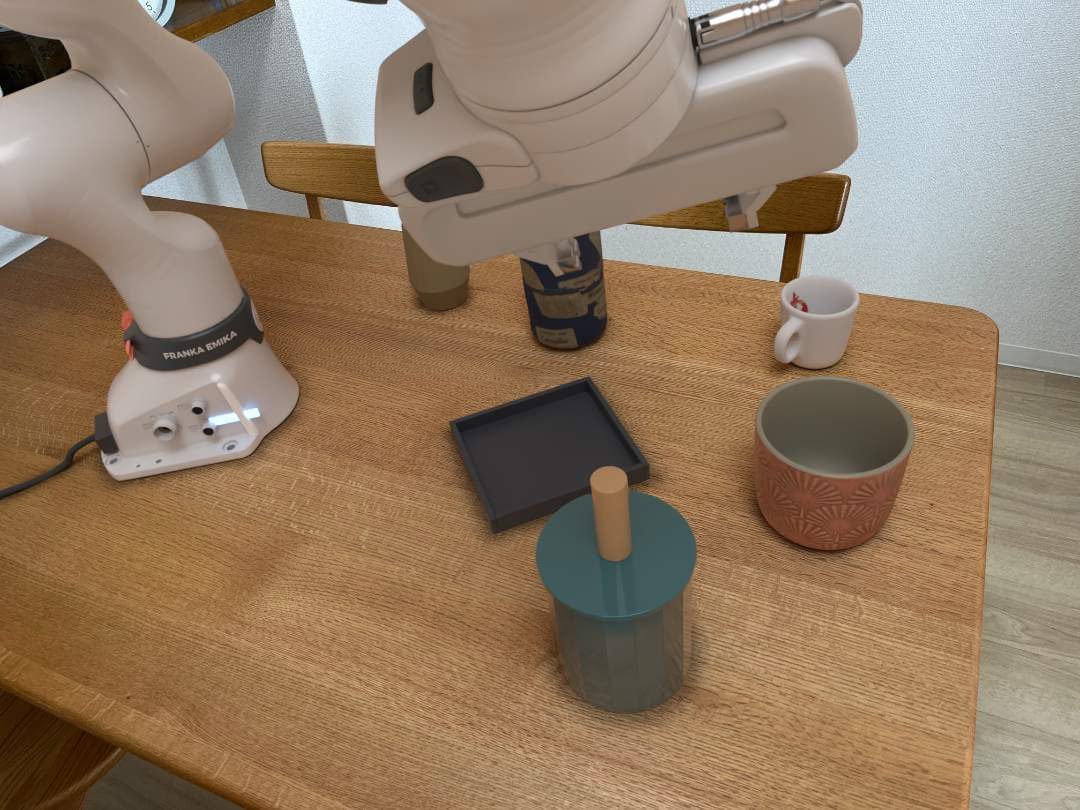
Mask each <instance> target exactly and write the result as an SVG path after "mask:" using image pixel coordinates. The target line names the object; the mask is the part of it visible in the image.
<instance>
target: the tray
mask: <svg viewBox="0 0 1080 810" xmlns="http://www.w3.org/2000/svg"><path fill="white" fill-rule="evenodd" d="M448 424H449V428H450V432H451V435H452V438H453V441H454V443H455V446H456V448H457V450H458V452H459V455H460V457H461V460H462V462H463V465H464V467H465V469H466V471H467V474H468V476H469V479H470V482H471V483H472V486H473V488H474V491H475V493H476V496H477V498H478V501H479V503H480V505H481V507H482V510H483V513H484V515H485V517H486V520H487V523H488V524H489V527H490V529H491V531H492V533H493V534H497V533H499V532H502V531H506V530H508V529H511V528H514V527H517V526H520V525H522V524H525V523H528V522H531V521H533V520H537V519H539V518H543V517H545V516H547V515H550V514H555V513H556V512H557V511H558V510H559V509H560V508H562V507H563V506H564V505H566V504H567V503H569V502H571V501H573V500H575V499H577V498H579V497H581V496H584V495H587V494H590V493H591V486H590V478H591V475H592V474H593V473H594V472H595V471H596V470H597V469H599V468H601V467H606V466H614V467H617V468H620V469H621V470H623V471H624V472H625V474H626V475H627V480H628V487H630V486H632V485H635V484H638V483H640V482H644V481H646V480H650V479H651V474H650V471H651V470H650V463H649V462H648V460H647V459H646V457H645V456H644V455H643V453H642V451H641V450H640V448H639V447H638V446H637V444H636V442H635V441H634V439H633V438H632V437H631V435H630V434H629V432H628V431H627V429H626V428H625V426H624V424H623V423H622V422H621V420H620V418H619V417H618V415H617V414H616V413H615V412H614V410H613V408H612V407H611V406H610V404H609V403H608V401H607V400H606V398H605V397H604V395H603V394H602V392H601V391H600V389H599V388H598V386H597V384H595V382H594V381H593V379H592V377H591V376H590V375H588V376H585V377H582V378H578V379H576V380H572V381H569V382H566V383H563V384H560V385H557V386H554V387H550V388H548V389H545V390H541V391H538V392H535V393H532V394H528V395H526V396H523V397H520V398H517V399H513V400H511V401H508V402H505V403H502V404H498V405H495V406H492V407H489V408H485V409H483V410H480V411H476V412H474V413H469V414H468V415H465V416H461V417H458V418H455V419H452V420H449V421H448ZM493 534H492V535H493Z"/></svg>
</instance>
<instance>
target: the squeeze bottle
mask: <svg viewBox="0 0 1080 810" xmlns="http://www.w3.org/2000/svg"><path fill="white" fill-rule="evenodd" d="M400 227H401V233H402V242H403V248H404V255H405V261H406V266H407V267H406V268H407V274H408V282H409V284H410V286H411V288H412V290H414V292H415V294H416V295H417V296H418V297H419V299H420V301H421V302H422V303H423V305H424V307H426V308H428V309H429V310H433V311H446V310H450V309H454V308H456V307H458V306H459V305H461V304H462V303H463V302H464V301H465V300H466V299H467V295H468V289H469V281H470V276H471V266H470V265H467V266H462V267H456V266H450V265H445V264H441V263H437V262H435V261H434V260H432V259H431V258H430V257H429V256H428V255H427V254H426V253H425V252H424V251H423V250H422V249H421V248H420V246H419V245H418V244H417V243H416V242H415V241H414V239H413V238H412V237H411V235H410V234H409V233H408V231H407V230H406V228H405V227H404V225H403V224H402V223H401V224H400Z"/></svg>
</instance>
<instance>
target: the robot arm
mask: <svg viewBox="0 0 1080 810" xmlns="http://www.w3.org/2000/svg"><path fill="white" fill-rule="evenodd" d="M346 1H348V2H352V3H357V4H358V3H359V4H366V5H376V6H377V5H378V6H379V5H381V6H382V5H388V2H389V0H346ZM398 1H399V3H401V4H402V5H403V6H404V7H406V8H407V9H408V10H409V11H410V12H412V13H413V14H415V16H416V17H417V18H418V19H419V21H420V22H421V24H422V25H423V27H424V28H423V29H422V30H421V31H420V32H418V33H417V34H416V35H414V36H413V37H412V38H410V39H409V40H408V41H406V42H405V43H404V44H402V45H401V46H399V47H398V48H397V49H396V50H394V51H393V52H392V53H390V54H389V55H388V56H387V57H385V59H383V61H382V62H381V64H380V65H379V68H378V73H377V80H376V87H375V88H376V89H375V98H374V118H373V119H374V122H373V124H374V125H373V126H374V127H373V129H374V131H373V133H374V153H375V165H376V172H377V178H378V185H379V188H380V191H382V193H383V195H385V197H386V198H387V199H388V200H389V201H390V202H392V203H393V204H395V205H397V213H398V216H399V217H398V218H399V219H400V222H401V224H403V225H404V227H405V228H406V230H407V231H408V233H409V234H410V235H411V237H412V238H413V239H414V241H415V242H416V243H417V244H418V245H419V246H420V248H421V249H422V250H423V251H424V252H425V253H426V254H427V255H428V256H429V257H430V258H431V259H432V260H434V261H435V262H437V263H441V264H445V265H450V266H456V267H462V266H467V265H469V266H470V265H474V264H476V263H481V262H485V261H488V260H489V261H490V260H493V259H497V258H500V257H504V256H507V255H511V254H514V256H515V257H517V258H519V257H520V258H523V259H527V260H530V261H534V262H537V263H541V264H544V265H545V264H547V265H548V267H549V268H550V269H551V271H552V272H553V273H554V275H555V276H560V275H564V274H567V273H571V272H575V271H578V270H581V269H582V263H581V261H580V259H579V257H580V256H581V254H580V248H579V244H578V242H577V240H576V239H574V237H577V236H581V235H584V234H588V233H592V232H596V231H600V232H601V231H603V230H607V229H611V228H614V227H619V226H622V225H625V224H626V225H627V224H630V223H635V222H638V221H641V220H642V221H643V220H645V219H649V218H653V217H656V216H660V215H664V214H668V213H672V212H676V211H680V210H684V209H688V208H692V207H696V206H700V205H703V204H706V203H707V204H708V203H711V202H714V201H718V200H719V201H720V200H722V202H723V206H724V207H723V208H724V213H725V218H726V223H727V226H728V231H729V233H730V234H733V233H736V232H740V231H745V230H749V229H754V228H758V227H759V225H760V224H759V219H758V215H757V214H758V213H757V212H758V211H760V209H761V208H762V207H763V206H764V205H765V204H766V202H767V201H768V200H769V199H770V198H771V197H772V195H773V194H774V193H775V191H776V190H777V189H778V187H777V185H779V184H783V183H784V184H785V183H788V182H792V181H795V180H799V179H803V178H807V177H810V176H815V175H818V174H822V173H827V172H830V171H833V170H835V169H837V168H840V166H842V165H843V164H844V163H845V162H847V160H848V159H849V158H850V157H852V155H853V154H854V153H855V152H856V151H857V149H858V147H859V131H858V122H857V114H856V111H855V105H854V101H853V97H852V93H851V88H850V84H849V81H848V75H847V73H846V67H847V66H848V65H849V64H850V63H851V62H852V61H853V60H854V58H855V57H856V56H857V53H858V52H859V50H860V48H861V44H862V39H863V25H864V23H863V21H864V10H863V5H862V2H861V1H860V0H750V1H744V2H742V3H736V4H732V5H728V6H724V7H722V8H719V9H715V10H713V11H709V12H707V13H704V14H700V15H698V16H695V17H692V18H691V16H688V12H687V6H686V2H685V0H398ZM0 25H1V26H2V27H5V28H7V29H9V30H11V31H15V32H18V33H22V34H26V35H30V36H34V37H40V38H46V39H51V40H59V41H60V42H61V44H62V45H63V46H64V49H65V51H66V52H67V53H68V57H69V60H70V64H71V68H70V69H68V70H66V71H65V72H64V73H60V74H58V75H55V76H53V77H51V78H48V79H45V80H43V81H41V82H37V83H35V84H33V85H31V86H28V87H25V88H23V89H20V90H17V91H15V92H12V93H10V94H7V95H5V96H2V97H0V226H1V227H4V228H6V229H9V230H12V231H14V232H17V233H21V234H26V235H34V236H41V237H44V238H48V239H51V240H55V241H59V242H60V243H63V244H66V245H68V246H70V247H73V248H74V249H75V250H78V251H80V252H81V253H83V254H84V255H85V256H87V257H88V258H89V259H90V260H92V261H93V262H94V263H95V264H96V265H97V266H98V267H99V268H100V269H101V270H102V272H104V274H105V275H106V277H107V278H108V279H109V281H110V283H112V286H113V287H114V288H115V289H116V291H117V293H118V294H119V296H120V298H121V299H122V301H123V302H124V304H125V306H126V308H127V309H126V310H125V311H124V312H122V314H121V323H120V326H121V328H122V330H123V331H124V332H123V335H122V336H123V337H122V338H123V340H122V341H123V342H124V344H125V352H126V354H127V355H128V357H129V359H128V361H126V363H125V364H124V366H123V367H122V368H121V369H120V370H119V372H118V373H117V374H116V375H115V377H113V379H112V381H111V384H110V386H109V390H108V392H107V398H106V411H104V412H101V413H99V414H95V415H94V433H92V434H91V435H88V436H87V437H84V438H83V439H82V440H79V441H78V442H76V443H75V444H74V445H73V446H71V448H69V450H68V451H67V452H66V454H65V458H64V460H63V461H61V462H60V463H59V464H58V465H57V466H55V467H54V468H52V469H50V470H49V471H47V472H45V473H43V474H41V475H39V476H37V477H34V478H31V479H29V480H27V481H24V482H21V483H18V484H16V485H13V486H9V487H7V488H4V489H0V499H1V498H4V497H7V496H9V495H12V494H15V493H18V492H21V491H24V490H26V489H29V488H32V487H33V486H36V485H38V484H40V483H42V482H44V481H46V480H48V479H50V478H53V477H54V476H56V475H58V474H60V473H61V472H63V471H64V470H65V469H67V468H68V467H69V466H70V465H72V462H73V461H74V458H75V455H76V454H77V453H78V451H80V450H81V449H82V448H84V447H86V446H88V445H91V444H92V443H93V442H95V444H97V446H98V448H99V449H100V456H101V460H102V464H103V465H104V468H105V469H106V472H107V473H108V474H109V476H110V477H111V478H113V479H114V480H115V481H118V482H119V481H120V482H122V481H129V480H134V479H141V478H145V477H150V476H155V475H160V474H165V473H171V472H176V471H181V470H186V469H192V468H197V467H203V466H208V465H213V464H218V463H223V462H228V461H229V462H230V461H235V460H239V459H244V458H246V457H249V455H251V454H253V453H254V451H255V450H256V449H257V448H258V446H259V445H260V444H261V443H262V441H263V439H264V438H265V437H266V436H267V435H268V434H269V433H271V432H272V431H273V430H274V429H276V428H277V427H278V426H279V425H280V424H282V423H283V422H284V421H285V420H286V419H287V418H288V417H289V416H290V414H291V413H292V412H293V410H294V409H295V407H296V405H297V403H298V400H299V396H300V387H299V384H298V381H297V380H296V378H295V377H294V376H293V375H292V374H291V373H290V372H289V371H288V370H287V368H286V367H285V366H284V365H283V363H282V362H281V361H280V360H279V358H278V357H277V354H276V353H275V351H274V350H273V349H272V347H271V346H270V344H269V342H268V340H267V339H266V337H265V332H264V326H263V323H262V320H261V317H260V316H259V313H258V310H257V308H256V306H255V304H254V301H253V299H252V298H251V297H250V295H249V293H248V291H247V289H246V288H245V286H243V285H242V284H241V283H240V282H239V280H238V278H237V275H236V273H235V271H234V268H233V265H232V263H231V260H230V258H229V256H228V254H227V252H226V249H225V247H224V244H223V242H222V240H221V237H220V235H219V234H218V232H217V231H216V230H215V229H214V228H213V227H212V226H211V225H210V224H209V223H207V222H206V221H205V220H204V219H202V218H200V217H199V216H195V215H193V214H191V213H186V212H180V211H168V210H156V211H155V210H154V211H153V210H152V211H151V209H149V207H148V205H147V203H146V202H145V200H144V197H143V193H142V190H143V189H144V188H146V187H147V186H148V185H150V184H152V183H153V182H155V181H158V180H159V179H162V178H163V177H165V176H167V175H169V174H171V173H173V172H175V171H178V170H179V169H181V168H183V167H185V166H187V165H189V164H190V163H192V162H194V161H197V160H199V159H200V158H202V157H203V156H204V155H205V154H207V152H208V151H210V150H211V149H212V148H214V146H216V145H217V144H218V143H219V142H220V141H221V140H222V139H224V137H225V136H227V135H228V134H229V133H230V132H231V131H232V130H233V128H234V126H235V123H236V113H237V112H236V111H237V109H236V107H237V106H236V97H235V94H234V91H233V88H232V84H231V83H230V80H229V78H228V76H227V75H226V73H225V71H224V70H223V68H222V67H221V66H220V64H219V63H218V62H217V61H216V60H215V58H213V56H212V55H211V54H209V53H208V52H207V51H205V50H204V49H203V48H201V46H198V44H195V43H193V42H192V41H189V40H188V39H185V38H182V37H180V36H177V35H176V34H174V33H172V32H170V31H169V30H168V29H166V28H164V27H163V26H162V25H161V24H160V23H158V22H157V21H156V20H155V19H154V18H153V17H152V16H151V15H150V14H149V12H148V11H147V10H146V9H145V7H143V5H142V4H141V2H140V1H139V0H0Z"/></svg>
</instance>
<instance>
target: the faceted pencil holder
mask: <svg viewBox="0 0 1080 810" xmlns="http://www.w3.org/2000/svg"><path fill="white" fill-rule="evenodd" d="M692 582H693V578H692V579H691V581H690V583H689V585H688V586H687V588H686V589H685V590H684V592H683V593H682V594H681V595H680V596H679V597H678V598H677V599H676V600H675V601H674V602H672V603H671V604H670V605H669V606H667V607H666V608H664V609H662V610H661V611H659V612H657V613H654V614H652V615H650V616H647V617H644V618H641V619H636V620H631V621H623V622H605V621H598V620H593V619H589V618H586V617H583V616H580V615H578V614H575V613H573V612H571V611H570V610H568V609H566V608H565V607H563V606H562V605H560V604H559V603H558V602H557V601H556V600H555V599H554V598H553V597H552V596H551V595H550V594H549V593H548V591H547V590H546V589H545V594H546V599H547V604H548V608H549V614H550V619H551V625H552V630H553V634H554V635H553V636H554V640H555V645H556V650H557V656H558V661H559V665H560V666H561V669H562V670H561V671H562V673H563V675H564V677H565V679H566V682H567V683H568V684H569V687H570V688H571V689H572V690H573V691H574V692H575V694H577V696H578V697H580V698H581V699H582V700H584V701H585V702H587V703H588V704H589V705H591V706H593V707H596V708H597V709H600V710H603V711H606V712H610V713H616V714H637V713H640V712H645V711H648V710H651V709H654V708H656V707H658V706H660V705H662V704H664V703H665V702H666V701H668V700H669V699H670V698H671V697H673V696H674V695H675V694H676V693H677V691H678V690H679V689H680V688H681V686H682V685H683V683H684V682H685V680H686V678H687V675H688V673H689V669H690V665H691V660H692V632H693V631H692V629H693V627H692V626H693V625H692V624H693V623H692V620H693V619H692V617H693V616H692V614H693V613H692V611H693V600H692V599H693V598H692V597H693V594H692V593H693V583H692Z"/></svg>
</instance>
